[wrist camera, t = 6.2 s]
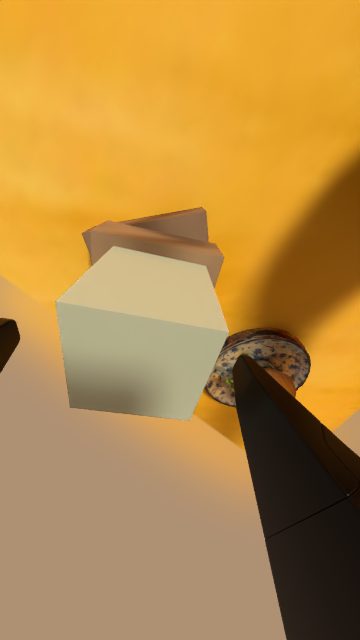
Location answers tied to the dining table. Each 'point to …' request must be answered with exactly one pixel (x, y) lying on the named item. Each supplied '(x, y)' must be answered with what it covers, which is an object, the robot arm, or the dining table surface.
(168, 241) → the walnut slab top
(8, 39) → the dining table surface
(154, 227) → the walnut slab low
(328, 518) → the robot arm
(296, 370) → the burger
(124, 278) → the sage block
